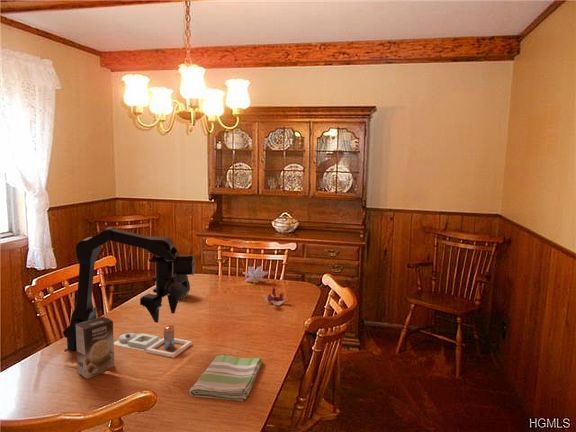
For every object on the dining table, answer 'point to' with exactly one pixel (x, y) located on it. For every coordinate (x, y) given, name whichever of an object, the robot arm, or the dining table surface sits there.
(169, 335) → the pin
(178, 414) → the dining table surface
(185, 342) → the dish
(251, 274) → the water lily
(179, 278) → the dark grey egg shape
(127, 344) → the block
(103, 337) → the coffee box
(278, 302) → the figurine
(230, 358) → the dish towel
